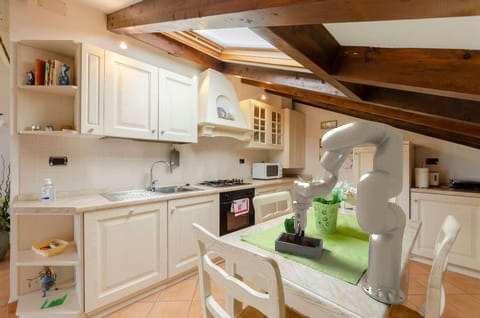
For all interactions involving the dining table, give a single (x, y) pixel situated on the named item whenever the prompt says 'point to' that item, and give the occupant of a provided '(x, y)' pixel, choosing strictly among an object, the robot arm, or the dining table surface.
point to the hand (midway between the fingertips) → (299, 239)
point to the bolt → (303, 242)
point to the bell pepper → (289, 225)
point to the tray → (300, 247)
